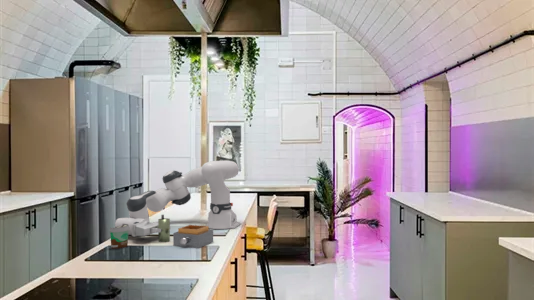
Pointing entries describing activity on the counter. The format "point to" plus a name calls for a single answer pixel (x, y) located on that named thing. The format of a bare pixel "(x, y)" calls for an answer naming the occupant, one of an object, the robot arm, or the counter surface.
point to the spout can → (164, 229)
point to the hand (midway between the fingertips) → (165, 229)
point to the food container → (119, 236)
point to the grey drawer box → (193, 236)
